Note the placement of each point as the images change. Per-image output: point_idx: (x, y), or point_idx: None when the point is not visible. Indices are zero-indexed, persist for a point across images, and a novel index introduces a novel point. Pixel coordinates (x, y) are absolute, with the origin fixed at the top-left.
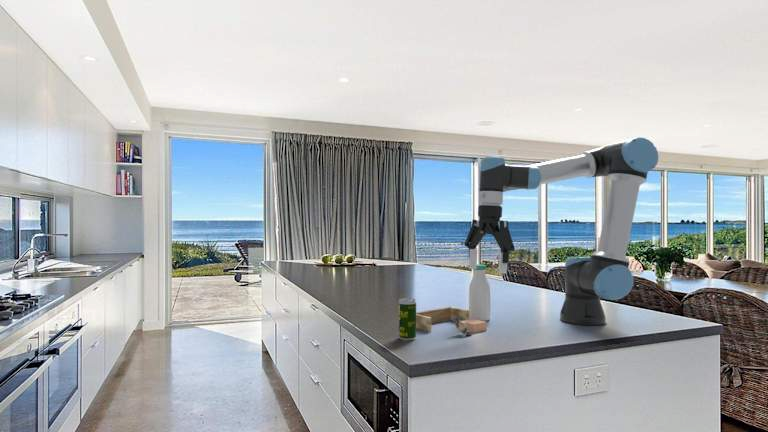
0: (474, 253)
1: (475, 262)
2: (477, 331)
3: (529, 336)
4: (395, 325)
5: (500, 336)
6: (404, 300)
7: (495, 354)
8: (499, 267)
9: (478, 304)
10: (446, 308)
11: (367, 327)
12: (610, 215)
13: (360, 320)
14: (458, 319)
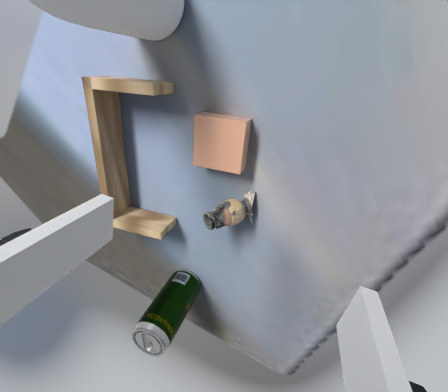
0: (24, 276)
1: (83, 225)
2: (246, 155)
3: (397, 93)
4: None
5: (318, 156)
6: (152, 352)
7: None
8: (347, 364)
9: (140, 26)
10: (95, 107)
11: (95, 255)
12: None
13: None
14: (218, 222)
